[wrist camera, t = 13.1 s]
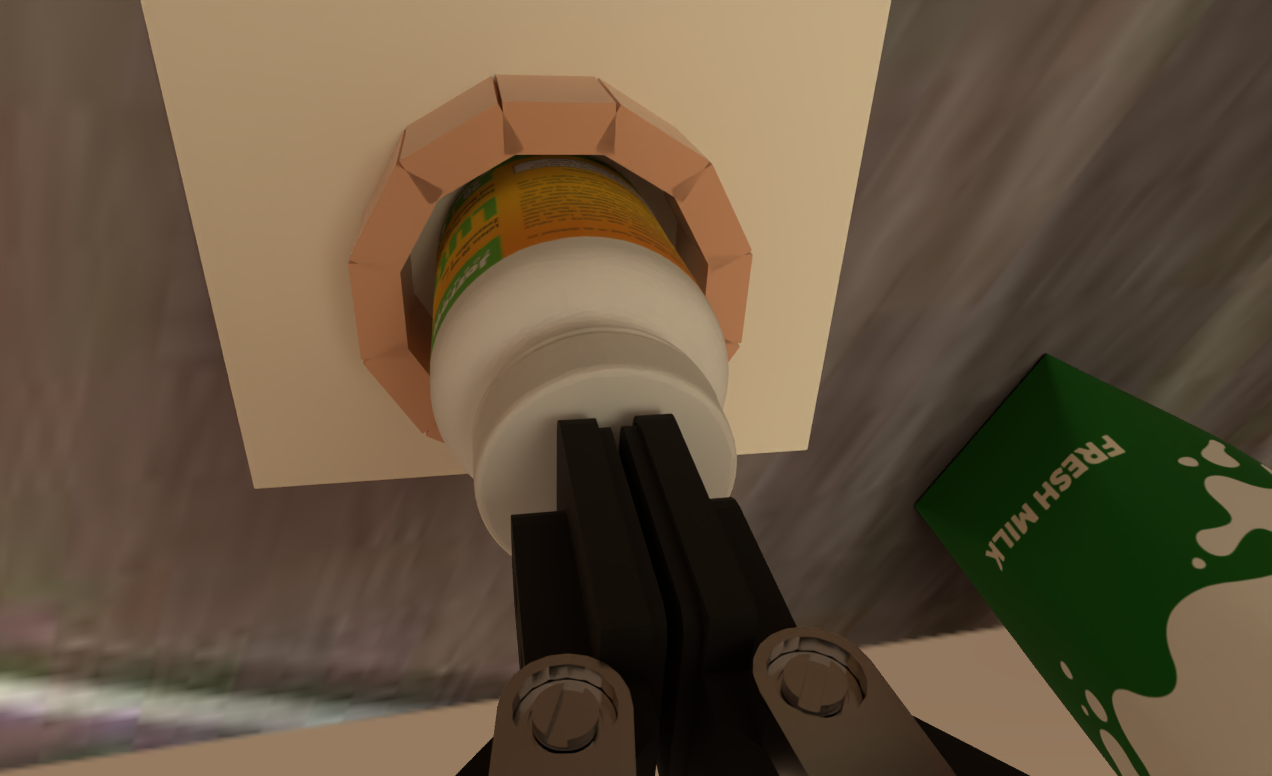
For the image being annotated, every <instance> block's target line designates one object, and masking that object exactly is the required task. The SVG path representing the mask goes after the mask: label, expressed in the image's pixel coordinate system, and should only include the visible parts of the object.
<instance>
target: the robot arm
mask: <svg viewBox="0 0 1272 776" xmlns="http://www.w3.org/2000/svg"><path fill="white" fill-rule="evenodd" d="M511 547H512V570H513V588H514V604H515V617H516V629H517V641H518V653H519V665H520V670H519V671H518V672H517V673H515V674H514V675H513V677H512V678H511V679H510V681H509V682H508V683H507V685H506V686H505V687H504V689H503V691H502V694H501V697H500V700H499V703H498V706H497V714H496V722H495V730H494V737H493V738H492V739H491V740H490V741H489V742H488V743H487V744H486V745H485V746H484V747H483V748H482V749H481V750H480V751H479V752H478V753H477V754H476V755H475V756H474V757H473V758H472V759H471V760H470V761H469V762H468V763H467V764H466V765H465V766H464V767H463V768H462V769H461V770H460V772H458V774H456V776H655V770H656V765H657V769H658V773H659V776H1029V775H1027V774H1025V773H1024V772H1022V771H1019V770H1018V769H1016V768H1014V767H1012V766H1010V765H1008V764H1006V763H1004V762H1002V761H1000V760H998V759H996V758H994V757H992V756H990V755H988V754H986V753H984V752H982V751H981V750H979V749H977V748H974V747H973V746H971V745H969V744H967V743H965V742H963V741H961V740H959V739H957V738H955V737H953V736H951V735H949V734H947V733H945V732H943V731H942V730H940V729H938V728H935V727H934V726H932V725H930V724H928V723H926V722H924V721H922V720H920V719H918V718H916V717H914V716H912V715H911V714H910V712H909V711H908V710H907V708H906V707H905V706H904V704H903V703H902V702H901V700H900V699H899V698H898V696H897V695H896V693H895V692H894V691H893V689H892V688H891V687H890V685H889V684H888V683H887V682H886V680H885V679H884V677H883V676H882V675H881V673H880V672H879V671H878V669H877V668H876V667H875V665H874V664H873V663H872V661H871V660H870V659H869V658H868V657H867V656H866V655H865V654H864V653H863V652H862V651H861V650H860V649H859V648H858V647H857V646H856V645H854V644H853V643H851V642H849V641H848V640H846V639H845V638H843V637H842V636H839V635H837V634H834V633H831V632H829V631H826V630H823V629H817V628H809V627H797V626H796V624H795V622H794V620H793V618H792V616H791V614H790V612H789V609H788V607H787V605H786V603H785V601H784V599H783V597H782V595H781V593H780V590H779V588H778V586H777V584H776V582H775V580H774V578H773V576H772V574H771V571H770V569H769V567H768V565H767V563H766V561H765V559H764V557H763V555H762V552H761V550H760V548H759V546H758V544H757V542H756V540H755V538H754V536H753V534H752V531H751V529H750V527H749V525H748V523H747V521H746V519H745V517H744V515H743V512H742V510H741V508H740V506H739V505H738V503H737V501H736V500H735V499H734V498H732V497H724V498H712V499H710V498H709V496H708V493H707V491H706V489H705V486H704V484H703V482H702V479H701V477H700V475H699V472H698V470H697V468H696V465H695V463H694V461H693V458H692V456H691V454H690V451H689V449H688V447H687V444H686V442H685V440H684V437H683V435H682V433H681V430H680V428H679V426H678V423H677V421H676V419H675V417H674V415H673V414H671V413H670V414H654V415H637V416H635V417H634V419H633V425H632V426H622V427H621V429H620V437H619V452H618V448H617V445H616V442H615V438H614V435H613V432H612V429H611V427H602V428H599V427H598V423H597V420H596V419H595V418H587V419H570V420H558V421H557V511H551V512H538V513H526V514H514V515H511Z"/></svg>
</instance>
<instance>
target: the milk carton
mask: <svg viewBox="0 0 1272 776" xmlns="http://www.w3.org/2000/svg"><path fill="white" fill-rule="evenodd" d="M915 508H916V509H917V510H918V512H919V513H920V514H921V516H922V517H923V518H924V520H925V521H926V522H927V523H928V525H929V526H930V527H931V529H932V530H933V531H934V533H935V534H936V535H937V537H938V538H939V539H940V541H941V542H942V543H943V545H944V546H945V547H946V549H947V550H948V551H949V553H950V554H951V556H952V557H953V558H954V560H955V561H956V562H957V564H958V565H959V566H960V568H961V569H962V570H963V572H964V573H965V574H966V576H967V577H968V578H969V580H970V581H971V582H972V584H973V585H974V586H975V588H976V589H977V590H978V592H979V593H980V594H981V596H982V597H983V598H984V600H985V601H986V603H987V604H988V605H989V607H990V608H991V609H992V610H993V612H994V613H995V614H996V616H997V617H998V618H999V620H1000V621H1001V622H1002V624H1003V625H1004V626H1005V628H1006V629H1007V630H1008V632H1009V633H1010V634H1011V636H1012V637H1013V638H1014V639H1015V640H1016V642H1017V644H1018V645H1019V646H1020V648H1021V649H1022V650H1023V652H1024V653H1025V654H1026V655H1027V657H1028V658H1029V659H1030V661H1031V662H1032V664H1033V665H1034V666H1035V668H1036V669H1037V670H1038V672H1039V673H1040V674H1041V676H1042V677H1043V678H1044V679H1045V681H1046V682H1047V683H1048V685H1049V686H1050V687H1051V689H1052V690H1053V691H1054V693H1055V694H1056V695H1057V697H1058V698H1059V699H1060V700H1061V702H1062V703H1063V704H1064V705H1065V707H1066V708H1067V710H1068V711H1069V712H1070V714H1071V715H1072V716H1073V717H1074V719H1075V720H1076V721H1077V723H1078V724H1079V725H1080V727H1081V728H1082V729H1083V731H1084V732H1085V733H1086V735H1087V736H1088V737H1089V738H1090V740H1091V741H1092V742H1093V744H1094V745H1095V746H1096V748H1097V749H1098V750H1099V752H1100V753H1101V754H1102V756H1103V757H1104V758H1105V759H1106V761H1107V762H1108V763H1109V765H1110V766H1111V767H1112V769H1113V770H1114V771H1115V772H1116V774H1117V775H1118V776H1272V469H1270V468H1268V467H1267V466H1265V465H1263V464H1262V463H1260V462H1258V461H1257V460H1255V459H1254V458H1252V457H1250V456H1249V455H1247V454H1245V453H1244V452H1242V451H1241V450H1239V449H1237V448H1236V447H1234V446H1232V445H1230V444H1228V443H1227V442H1225V441H1223V440H1221V439H1219V438H1218V437H1216V436H1214V435H1212V434H1210V433H1208V432H1206V431H1204V430H1202V429H1200V428H1198V427H1196V426H1194V425H1192V424H1190V423H1188V422H1186V421H1184V420H1182V419H1180V418H1178V417H1176V416H1174V415H1172V414H1170V413H1168V412H1165V411H1163V410H1161V409H1159V408H1157V407H1155V406H1153V405H1151V404H1149V403H1147V402H1145V401H1143V400H1141V399H1138V398H1136V397H1134V396H1132V395H1130V394H1128V393H1126V392H1124V391H1122V390H1120V389H1118V388H1116V387H1113V386H1111V385H1109V384H1107V383H1105V382H1103V381H1101V380H1099V379H1097V378H1095V377H1093V376H1090V375H1088V374H1086V373H1084V372H1082V371H1080V370H1078V369H1076V368H1074V367H1072V366H1070V365H1068V364H1066V363H1064V362H1062V361H1061V360H1059V359H1057V358H1055V357H1053V356H1051V355H1049V354H1046V355H1045V356H1044V357H1043V358H1042V359H1041V360H1040V362H1039V363H1038V364H1037V365H1036V366H1035V367H1034V369H1033V370H1032V371H1031V372H1030V373H1029V374H1028V375H1027V377H1026V378H1025V379H1024V380H1023V381H1022V382H1021V384H1020V385H1019V386H1018V387H1017V388H1016V389H1015V390H1014V392H1013V393H1012V394H1011V395H1010V396H1009V397H1008V399H1007V400H1006V401H1005V402H1004V403H1003V404H1002V405H1001V407H1000V408H999V409H998V410H997V411H996V412H995V414H994V415H993V416H992V417H991V418H990V419H989V420H988V422H987V423H986V424H985V425H984V426H983V427H982V429H981V430H980V431H979V432H978V433H977V434H976V435H975V437H974V438H973V439H972V440H971V441H970V442H969V444H968V445H967V446H966V447H965V448H964V449H963V450H962V452H961V453H960V454H959V455H958V456H957V457H956V459H955V460H954V461H953V462H952V463H951V464H950V465H949V467H948V468H947V469H946V470H945V471H944V472H943V474H942V475H941V476H940V477H939V478H938V479H937V480H936V482H935V483H934V484H933V485H932V486H931V487H930V489H929V490H928V491H927V492H926V493H925V494H924V495H923V497H922V498H921V499H920V500H919V501H918V502H917V504H915Z"/></svg>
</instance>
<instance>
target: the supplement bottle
mask: <svg viewBox="0 0 1272 776" xmlns="http://www.w3.org/2000/svg"><path fill="white" fill-rule="evenodd" d="M728 375H729V365H728V355H727V349H726V344H725V340H724V336H723V333H722V331H721V328H720V325H719V322H718V320H717V318H716V316H715V314H714V312H713V310H712V307H711V305H710V303H709V302H708V300H707V298H706V296H705V295H704V293H703V292H702V290H701V288H700V287H699V285H698V284H697V282H696V280H695V278H694V277H693V276H692V274H691V273H690V271H689V270H688V268H687V267H686V265H685V263H684V262H683V260H682V259H681V257H680V256H679V254H678V253H677V251H676V250H675V248H674V246H673V245H672V243H671V242H670V241H669V239H668V237H667V236H666V234H665V232H664V231H663V229H662V228H661V226H660V224H659V223H658V221H657V220H656V218H655V216H654V215H653V213H652V211H651V210H650V208H649V206H648V205H647V203H646V202H645V200H644V199H643V197H642V196H641V194H640V193H639V192H638V190H637V189H636V188H635V187H634V185H633V184H632V183H631V182H630V181H629V180H628V179H627V178H626V177H625V176H624V175H623V174H622V173H621V172H619V171H618V170H617V169H616V168H614V167H613V166H611V165H609V164H608V163H606V162H605V161H603V160H601V159H599V158H597V157H595V156H592V155H514V156H512V157H510V158H509V159H507V160H505V161H503V162H502V163H500V164H498V165H497V166H495V167H493V168H491V169H490V170H488V171H486V172H485V173H483V174H481V175H480V176H478V177H476V178H474V179H473V180H471V181H469V182H468V183H466V184H464V186H463V187H462V188H461V189H460V190H459V192H458V193H457V195H456V196H455V198H454V199H453V201H452V203H451V204H450V207H449V209H448V211H447V213H446V215H445V218H444V221H443V224H442V227H441V232H440V236H439V243H438V251H437V264H436V280H435V293H434V302H433V325H432V341H431V356H430V395H431V403H432V409H433V414H434V418H435V421H436V424H437V427H438V429H439V432H440V434H441V437H442V439H443V441H444V442H445V444H446V446H447V448H448V449H449V451H450V453H451V454H452V456H453V457H454V458H455V460H456V461H457V462H458V463H459V465H460V466H461V467H462V468H463V469H464V470H465V471H466V472H467V473H468V474H469V475H470V476H471V477H472V478H473V479H474V490H475V498H476V503H477V507H478V510H479V512H480V515H481V518H482V520H483V522H484V524H485V526H486V528H487V529H488V531H489V533H490V534H491V536H492V537H493V538H494V540H495V541H496V542H497V543H498V544H499V545H500V546H501V547H502V548H503V549H504V550H505V551H506V552H507V553H508V554H509V555H511V556H512V547H511V515H514V514H526V513H538V512H551V511H557V421H558V420H570V419H587V418H595V419H596V420H597V423H598V427H599V428H602V427H611V429H612V432H613V435H614V438H615V442H616V445H617V448H618V452H619V437H620V429H621V427H622V426H632V425H633V419H634V417H635V416H637V415H654V414H670V413H671V414H673V415H674V417H675V419H676V421H677V423H678V426H679V428H680V430H681V433H682V435H683V437H684V440H685V442H686V444H687V447H688V449H689V451H690V454H691V456H692V458H693V461H694V463H695V465H696V468H697V470H698V472H699V475H700V477H701V479H702V482H703V484H704V486H705V489H706V491H707V493H708V496H709V498H710V499H712V498H724V497H730V494H731V492H732V489H733V485H734V480H735V476H736V467H737V453H736V447H735V440H734V437H733V434H732V431H731V428H730V425H729V423H728V421H727V419H726V416H725V414H724V412H723V407H724V403H725V399H726V394H727V387H728Z"/></svg>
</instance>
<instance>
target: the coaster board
mask: <svg viewBox="0 0 1272 776" xmlns="http://www.w3.org/2000/svg"><path fill="white" fill-rule="evenodd" d="M890 4H891V0H141V5H142V9H143V13H144V18H145V22H146V26H147V30H148V35H149V39H150V43H151V48H152V52H153V56H154V60H155V65H156V69H157V73H158V78H159V82H160V86H161V90H162V95H163V99H164V103H165V108H166V112H167V116H168V121H169V125H170V129H171V133H172V138H173V142H174V146H175V151H176V155H177V159H178V163H179V168H180V172H181V176H182V181H183V185H184V189H185V193H186V198H187V202H188V206H189V211H190V215H191V219H192V223H193V228H194V232H195V236H196V241H197V245H198V249H199V254H200V258H201V262H202V266H203V271H204V275H205V279H206V284H207V288H208V292H209V296H210V301H211V305H212V309H213V314H214V318H215V322H216V326H217V331H218V335H219V339H220V344H221V348H222V352H223V356H224V361H225V365H226V369H227V374H228V378H229V382H230V387H231V391H232V395H233V399H234V404H235V408H236V412H237V417H238V421H239V425H240V429H241V434H242V438H243V442H244V447H245V451H246V455H247V459H248V464H249V468H250V472H251V477H252V481H253V485H254V489H259V488H273V487H287V486H301V485H315V484H330V483H344V482H358V481H372V480H386V479H400V478H415V477H429V476H443V475H457V474H468V473H467V472H466V471H465V470H464V469H463V468H462V467H461V466H460V465H459V463H458V462H457V461H456V460H455V458H454V457H453V456H452V454H451V453H450V451H449V449H448V448H447V446H446V444H445V443H442V442H440V441H437V440H435V439H432V438H429V437H427V436H426V432H425V433H423V434H422V433H421V431H420V430H419V429H418V428H417V427H416V426H415V424H414V423H413V422H412V421H411V420H410V418H409V417H408V416H407V415H406V414H405V413H404V411H403V410H402V409H401V408H400V407H399V405H398V404H397V403H396V402H395V401H394V400H393V398H392V397H391V396H390V395H389V394H388V392H387V391H386V390H385V389H384V388H383V387H382V385H381V384H380V383H379V382H378V381H377V379H376V378H375V377H374V376H373V375H372V374H371V372H370V371H369V370H368V369H367V368H366V367H365V365H364V364H363V361H364V359H363V360H361V355H360V348H359V340H358V333H357V326H356V318H355V311H354V304H353V297H352V289H351V282H350V275H349V267H348V262H349V257H350V254H351V250H352V247H353V244H354V241H355V237H356V234H357V231H358V228H359V225H360V221H361V218H362V215H363V212H364V210H365V208H366V206H367V204H368V202H369V200H370V198H371V196H372V194H373V192H374V190H375V188H376V185H377V183H378V181H379V179H380V177H381V175H382V173H383V171H384V169H385V167H386V165H387V163H388V161H389V159H390V157H391V155H392V153H393V151H394V149H395V147H396V145H397V143H398V141H399V139H400V137H401V135H402V133H403V131H404V129H405V130H406V129H407V126H408V125H410V124H411V123H413V122H415V121H416V120H418V119H420V118H421V117H423V116H425V115H426V114H428V113H430V112H431V111H433V110H435V109H436V108H438V107H440V106H442V105H443V104H445V103H447V102H448V101H450V100H452V99H453V98H455V97H457V96H458V95H460V94H462V93H463V92H465V91H467V90H468V89H470V88H472V87H473V86H475V85H477V84H478V83H480V82H482V81H483V80H485V79H487V78H488V77H490V76H492V77H493V79H494V81H495V82H496V75H546V76H594V77H595V78H596V79H598V78H600V79H601V80H603V81H604V82H606V83H607V84H609V85H610V86H612V87H614V88H615V89H617V90H618V91H620V92H621V93H623V94H624V95H626V96H628V97H629V98H631V99H632V100H634V101H635V102H637V103H638V104H640V105H641V106H643V107H645V108H646V109H648V110H649V111H651V112H652V113H654V114H655V115H657V116H659V117H660V118H662V119H663V120H665V121H666V122H668V123H669V124H671V125H672V126H674V127H676V128H677V129H678V130H679V131H680V132H681V133H682V134H683V135H684V136H685V137H686V138H687V139H688V140H689V141H690V142H691V143H692V144H693V145H694V146H695V147H696V148H697V149H698V150H699V151H700V152H701V153H702V154H703V155H704V156H705V157H706V158H707V159H708V160H709V161H710V162H711V163H712V164H713V166H714V169H715V171H716V173H717V175H718V177H719V179H720V182H721V184H722V186H723V188H724V190H725V193H726V195H727V197H728V199H729V201H730V203H731V206H732V208H733V210H734V212H735V214H736V217H737V219H738V221H739V223H740V225H741V227H742V230H743V232H744V234H745V236H746V238H747V240H748V243H749V245H750V247H751V249H752V251H750V252H751V253H752V254H753V256H752V264H751V272H750V280H749V288H748V296H747V303H746V311H745V319H744V327H743V335H742V343H738V344H739V346H740V347H739V349H738V350H737V351H736V353H735V354H734V355H733V357H732V358H731V360H730V361H729V362H728V365H729V375H728V387H727V394H726V399H725V403H724V407H723V412H724V414H725V416H726V419H727V421H728V423H729V425H730V428H731V431H732V434H733V437H734V440H735V447H736V453H737V455H740V454H754V453H768V452H782V451H796V450H807V448H808V442H809V437H810V432H811V426H812V421H813V416H814V410H815V405H816V400H817V394H818V389H819V384H820V378H821V373H822V368H823V362H824V357H825V351H826V346H827V341H828V335H829V330H830V325H831V319H832V314H833V309H834V303H835V298H836V293H837V287H838V282H839V277H840V271H841V266H842V261H843V255H844V250H845V245H846V239H847V234H848V229H849V223H850V218H851V213H852V207H853V202H854V197H855V191H856V186H857V180H858V175H859V170H860V164H861V159H862V154H863V148H864V143H865V138H866V132H867V127H868V122H869V116H870V111H871V106H872V100H873V95H874V90H875V84H876V79H877V74H878V68H879V63H880V58H881V52H882V47H883V42H884V36H885V31H886V25H887V20H888V15H889V9H890ZM592 156H595V157H597V158H599V159H601V160H603V161H605V162H606V163H608V164H609V165H611V166H613V167H614V168H616V169H617V170H618V171H619V172H621V173H622V174H623V175H624V176H625V177H626V178H627V179H628V180H629V181H630V182H631V183H632V184H633V185H634V187H635V188H636V189H637V190H638V192H639V193H640V194H641V196H642V197H643V199H644V200H645V202H646V203H647V205H648V206H649V208H650V210H651V211H652V213H653V215H654V216H655V218H656V220H657V221H658V223H659V224H660V226H661V228H662V229H663V231H664V232H665V234H666V236H667V237H668V239H669V241H670V242H671V243H672V245H673V246H674V248H675V244H676V231H677V219H676V217H675V215H674V213H673V211H672V209H671V207H670V206H669V204H668V202H667V200H666V198H665V196H664V194H663V192H662V190H661V189H660V188H658V187H657V186H655V185H653V184H652V183H650V182H648V181H647V180H645V179H643V178H642V177H640V176H638V175H637V174H635V173H633V172H632V171H630V170H628V169H627V168H625V167H623V166H622V165H620V164H618V163H617V162H615V161H613V160H612V159H610V158H608V157H607V156H605V155H592ZM463 186H464V185H462V186H461V187H459V188H457V189H456V190H454V191H452V192H450V193H449V194H447V195H445V196H444V197H442V198H440V199H439V200H438V202H437V203H436V205H435V207H434V209H433V211H432V213H431V215H430V217H429V219H428V221H427V222H426V224H425V226H424V228H423V230H422V232H421V234H420V236H419V238H418V240H417V241H416V243H415V245H414V247H413V249H412V251H411V253H410V255H411V266H412V276H413V287H414V294H415V295H416V296H417V298H418V299H419V300H420V302H421V303H422V304H423V306H424V307H425V308H426V310H427V311H428V312H429V314H430V315H431V316H432V318H433V302H434V293H435V280H436V264H437V251H438V243H439V236H440V232H441V227H442V224H443V221H444V218H445V215H446V213H447V211H448V209H449V207H450V204H451V203H452V201H453V199H454V198H455V196H456V195H457V193H458V192H459V190H460V189H461V188H462V187H463Z"/></svg>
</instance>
